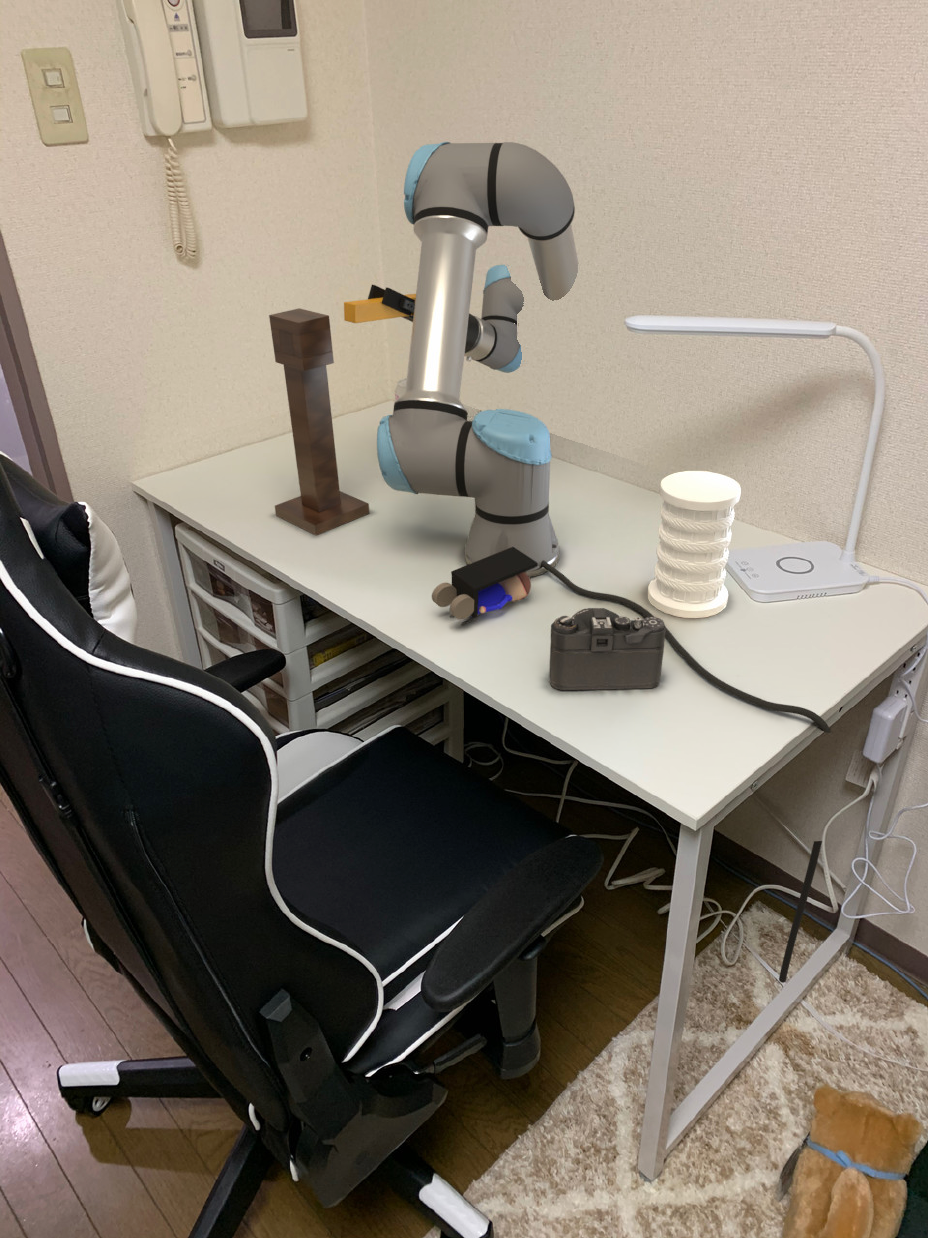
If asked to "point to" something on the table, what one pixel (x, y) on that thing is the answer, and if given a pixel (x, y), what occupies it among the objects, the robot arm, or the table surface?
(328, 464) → the stand
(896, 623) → the table surface
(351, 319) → the peg
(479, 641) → the table surface
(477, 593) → the figurine character
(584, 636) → the camera
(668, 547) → the decorative container
